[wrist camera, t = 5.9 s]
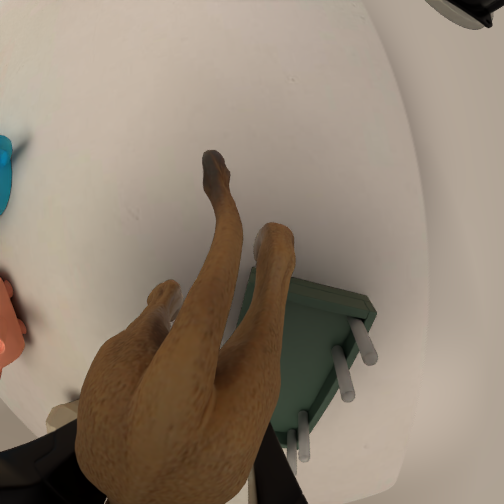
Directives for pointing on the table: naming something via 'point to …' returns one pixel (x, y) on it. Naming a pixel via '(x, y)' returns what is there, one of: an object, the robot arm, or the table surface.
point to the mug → (5, 171)
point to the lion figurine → (190, 375)
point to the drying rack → (315, 356)
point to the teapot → (9, 328)
